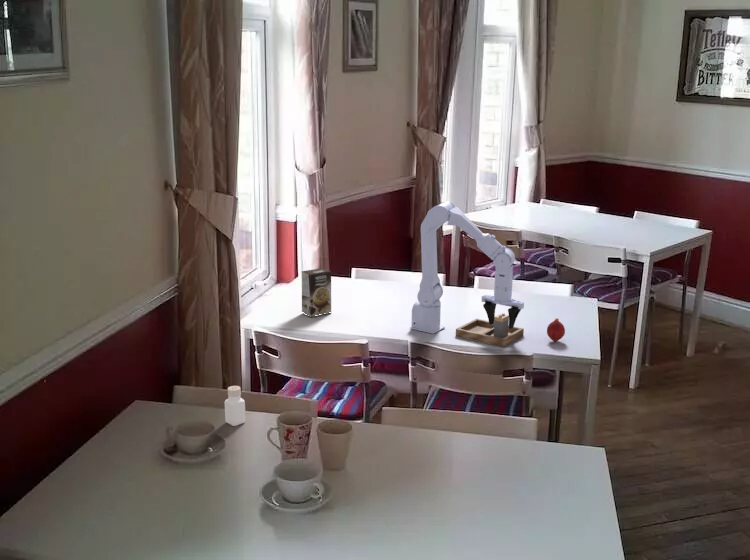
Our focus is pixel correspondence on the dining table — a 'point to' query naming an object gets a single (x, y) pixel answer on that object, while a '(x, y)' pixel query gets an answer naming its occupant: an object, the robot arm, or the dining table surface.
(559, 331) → the onion
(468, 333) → the walnut tray
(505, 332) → the battery cell
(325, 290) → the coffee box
